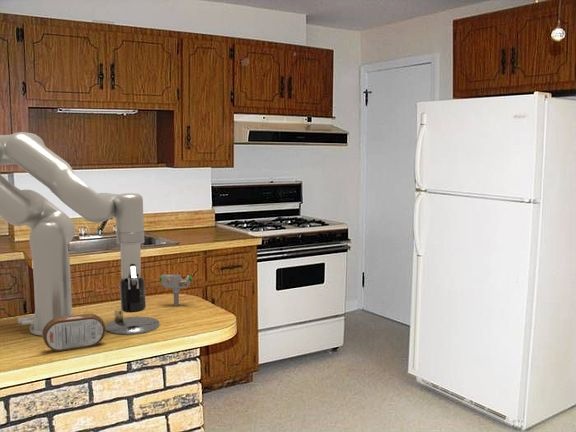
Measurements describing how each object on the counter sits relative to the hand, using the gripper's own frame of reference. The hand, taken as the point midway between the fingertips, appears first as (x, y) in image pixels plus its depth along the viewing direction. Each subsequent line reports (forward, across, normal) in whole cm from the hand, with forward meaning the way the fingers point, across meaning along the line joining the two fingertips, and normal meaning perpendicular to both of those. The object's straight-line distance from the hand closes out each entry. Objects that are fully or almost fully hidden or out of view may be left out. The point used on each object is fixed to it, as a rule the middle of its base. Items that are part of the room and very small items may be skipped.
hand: (132, 298), depth 165 cm
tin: (+8, +14, -16) cm, 22 cm away
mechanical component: (+8, -18, +15) cm, 25 cm away
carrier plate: (+8, 0, 0) cm, 8 cm away
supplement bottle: (+3, 0, 0) cm, 3 cm away
